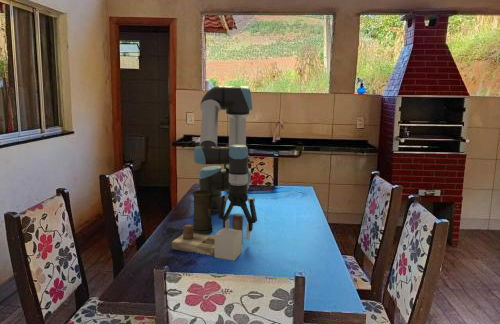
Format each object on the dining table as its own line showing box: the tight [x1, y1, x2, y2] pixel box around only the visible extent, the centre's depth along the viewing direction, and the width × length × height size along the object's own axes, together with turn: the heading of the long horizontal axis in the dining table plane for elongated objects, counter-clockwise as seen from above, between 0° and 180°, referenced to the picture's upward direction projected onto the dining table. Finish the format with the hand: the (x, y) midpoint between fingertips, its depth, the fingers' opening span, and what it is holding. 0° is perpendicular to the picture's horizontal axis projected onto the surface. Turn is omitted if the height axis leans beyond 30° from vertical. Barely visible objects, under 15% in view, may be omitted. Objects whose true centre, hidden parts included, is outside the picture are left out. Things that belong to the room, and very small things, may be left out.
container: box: [192, 189, 214, 235], centre depth 174 cm, size 9×9×18 cm
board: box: [171, 224, 215, 257], centre depth 157 cm, size 12×18×8 cm, turn 70°
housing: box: [214, 227, 243, 261], centre depth 149 cm, size 8×8×9 cm
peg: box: [232, 213, 244, 235], centre depth 161 cm, size 4×4×12 cm
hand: (237, 236), depth 161 cm, fingers open, 9 cm apart
